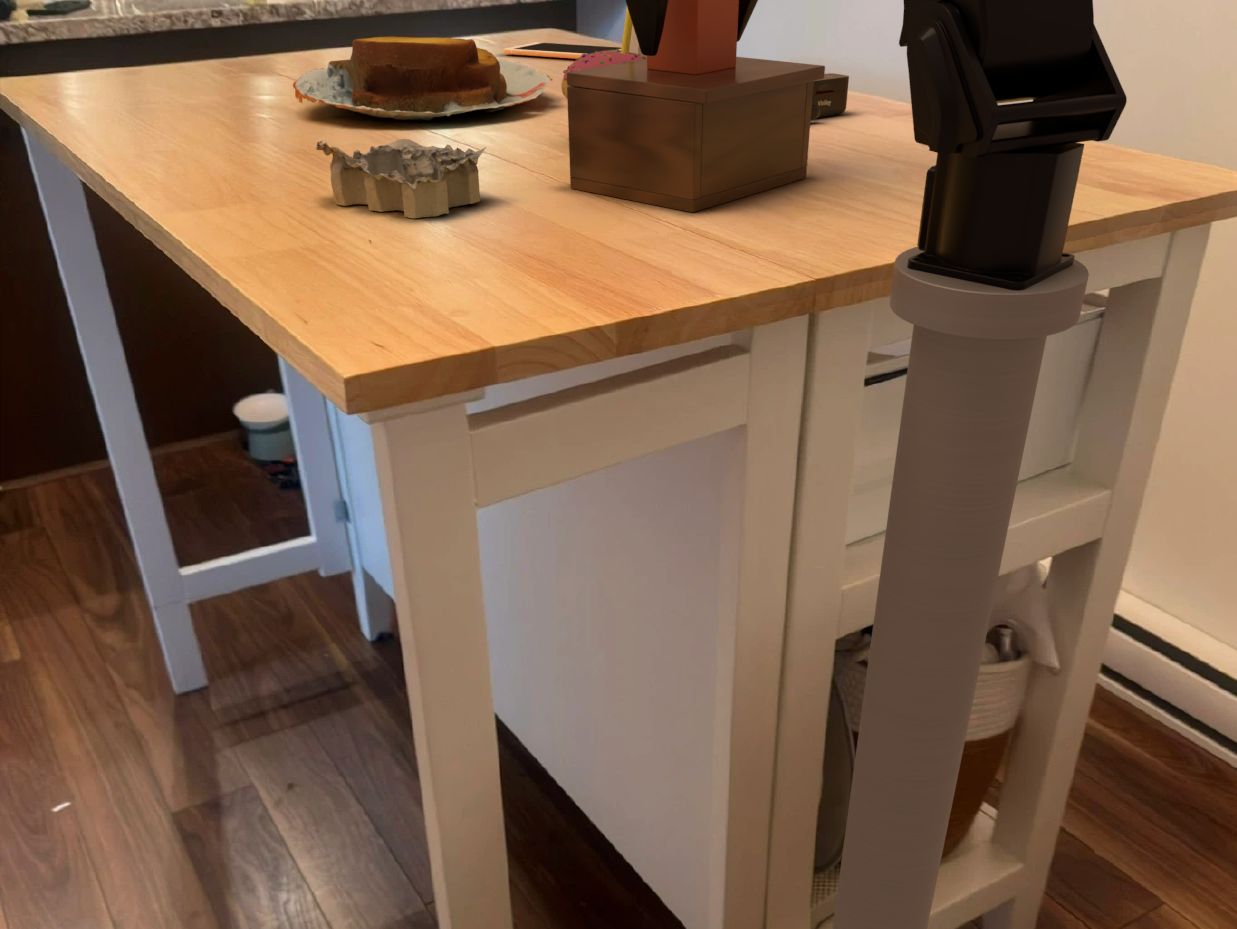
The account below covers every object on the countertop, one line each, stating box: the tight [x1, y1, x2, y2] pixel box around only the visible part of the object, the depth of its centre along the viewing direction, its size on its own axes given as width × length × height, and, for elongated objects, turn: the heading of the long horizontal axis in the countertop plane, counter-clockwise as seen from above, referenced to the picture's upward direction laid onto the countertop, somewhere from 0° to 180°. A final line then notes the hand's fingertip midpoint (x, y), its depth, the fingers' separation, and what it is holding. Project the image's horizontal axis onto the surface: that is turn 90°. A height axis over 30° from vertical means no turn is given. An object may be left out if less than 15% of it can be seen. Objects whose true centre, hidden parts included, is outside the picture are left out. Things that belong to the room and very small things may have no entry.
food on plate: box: [292, 36, 556, 122], centre depth 113 cm, size 25×25×7 cm
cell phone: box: [503, 41, 622, 60], centre depth 145 cm, size 8×16×1 cm, turn 59°
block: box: [647, 0, 739, 75], centre depth 79 cm, size 4×4×4 cm
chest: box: [566, 81, 813, 213], centre depth 83 cm, size 12×14×7 cm
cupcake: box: [560, 6, 647, 99], centre depth 95 cm, size 9×8×12 cm
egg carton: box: [316, 138, 487, 219], centre depth 80 cm, size 11×8×4 cm
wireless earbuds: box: [810, 72, 850, 121], centre depth 106 cm, size 5×7×3 cm, turn 123°
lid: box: [567, 56, 826, 104], centre depth 81 cm, size 12×14×1 cm
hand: (692, 48), depth 80 cm, fingers open, 9 cm apart
